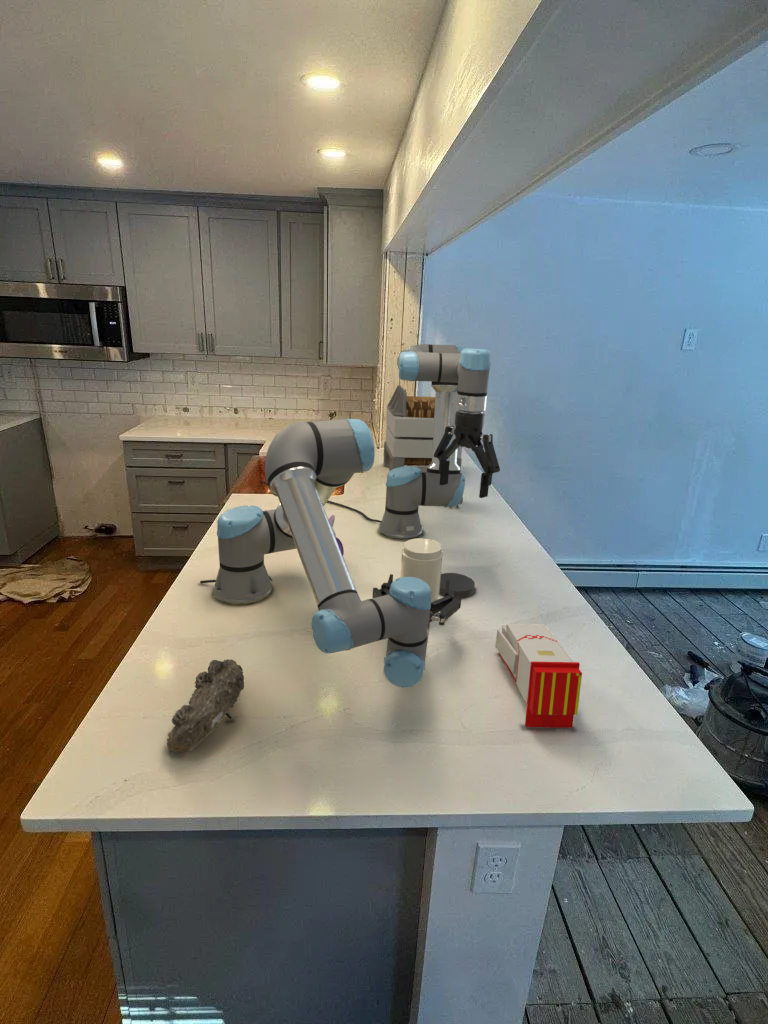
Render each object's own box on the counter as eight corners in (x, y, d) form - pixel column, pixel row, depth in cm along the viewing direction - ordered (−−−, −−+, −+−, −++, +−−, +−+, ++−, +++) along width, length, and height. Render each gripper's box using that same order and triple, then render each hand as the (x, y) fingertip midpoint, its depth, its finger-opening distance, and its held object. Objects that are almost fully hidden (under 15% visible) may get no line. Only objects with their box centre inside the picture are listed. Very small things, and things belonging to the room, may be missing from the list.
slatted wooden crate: (382, 463, 289) (386, 382, 275) (445, 464, 293) (451, 384, 279) (390, 482, 257) (394, 392, 243) (460, 483, 261) (468, 394, 247)
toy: (542, 608, 134) (591, 669, 104) (537, 660, 136) (583, 734, 107) (491, 607, 133) (526, 668, 104) (487, 660, 136) (520, 733, 107)
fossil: (192, 660, 117) (244, 628, 112) (224, 691, 120) (276, 661, 115) (142, 746, 98) (202, 712, 93) (182, 779, 101) (242, 748, 96)
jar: (410, 597, 156) (415, 534, 150) (444, 608, 151) (450, 544, 145) (391, 612, 148) (394, 546, 142) (426, 625, 143) (431, 557, 137)
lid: (476, 599, 157) (477, 592, 156) (434, 597, 157) (435, 590, 156) (471, 580, 168) (471, 573, 167) (431, 578, 168) (432, 572, 167)
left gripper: (350, 637, 120) (367, 590, 140) (469, 652, 117) (469, 601, 137) (352, 606, 117) (368, 562, 137) (473, 620, 114) (472, 574, 134)
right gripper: (424, 405, 151) (419, 481, 158) (502, 420, 134) (492, 505, 142) (442, 403, 156) (437, 477, 163) (520, 417, 139) (509, 499, 147)
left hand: (419, 582), depth 137 cm, fingers open, 13 cm apart
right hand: (462, 490), depth 152 cm, fingers open, 13 cm apart
